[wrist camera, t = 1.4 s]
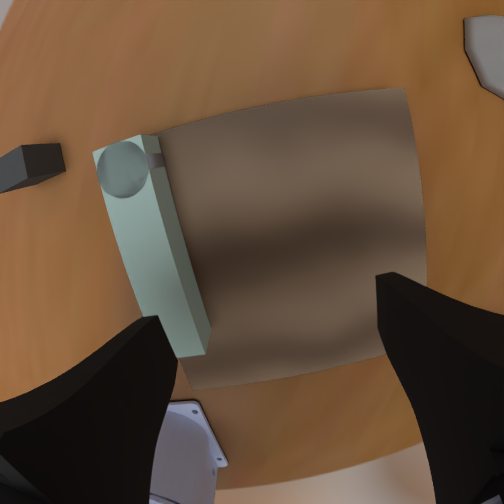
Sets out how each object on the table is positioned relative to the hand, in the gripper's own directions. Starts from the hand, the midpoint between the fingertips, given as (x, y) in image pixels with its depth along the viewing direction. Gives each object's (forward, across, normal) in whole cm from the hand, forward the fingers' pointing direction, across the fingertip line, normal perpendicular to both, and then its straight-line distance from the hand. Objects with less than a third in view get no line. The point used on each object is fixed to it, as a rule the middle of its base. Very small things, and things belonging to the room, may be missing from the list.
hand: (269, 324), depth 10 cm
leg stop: (+10, +14, -8) cm, 18 cm away
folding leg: (+7, +5, -1) cm, 9 cm away
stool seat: (+10, -1, +1) cm, 10 cm away
